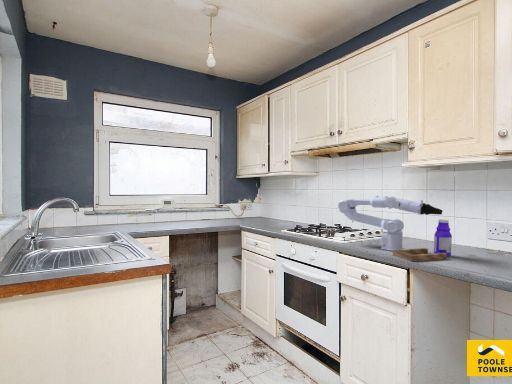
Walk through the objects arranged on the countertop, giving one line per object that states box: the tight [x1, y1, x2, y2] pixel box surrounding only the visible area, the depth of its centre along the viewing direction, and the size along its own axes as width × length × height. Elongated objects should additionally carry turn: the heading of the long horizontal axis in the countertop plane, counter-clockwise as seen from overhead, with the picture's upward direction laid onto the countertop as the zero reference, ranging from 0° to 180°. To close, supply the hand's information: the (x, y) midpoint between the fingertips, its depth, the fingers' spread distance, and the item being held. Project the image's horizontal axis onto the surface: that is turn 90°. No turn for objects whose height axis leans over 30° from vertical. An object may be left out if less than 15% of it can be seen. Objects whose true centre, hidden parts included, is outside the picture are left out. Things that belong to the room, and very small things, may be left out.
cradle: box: [392, 247, 447, 262], centre depth 142 cm, size 19×12×2 cm, turn 105°
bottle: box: [433, 218, 453, 257], centre depth 145 cm, size 7×6×17 cm
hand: (440, 212), depth 143 cm, fingers open, 7 cm apart
